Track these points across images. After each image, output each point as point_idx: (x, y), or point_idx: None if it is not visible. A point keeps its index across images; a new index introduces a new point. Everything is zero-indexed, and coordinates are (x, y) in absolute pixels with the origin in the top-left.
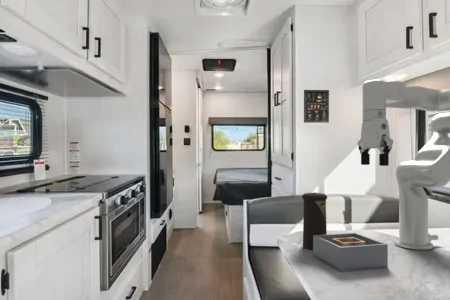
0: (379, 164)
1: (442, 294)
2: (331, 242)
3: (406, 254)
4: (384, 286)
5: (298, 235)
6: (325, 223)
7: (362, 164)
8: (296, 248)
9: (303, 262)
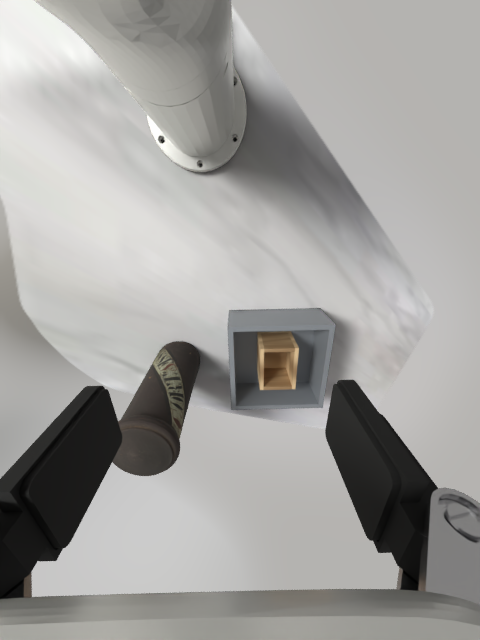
0: (331, 442)
1: (433, 311)
2: (288, 405)
3: (263, 208)
4: (376, 360)
5: (77, 348)
6: (184, 378)
7: (119, 438)
8: None
9: None
